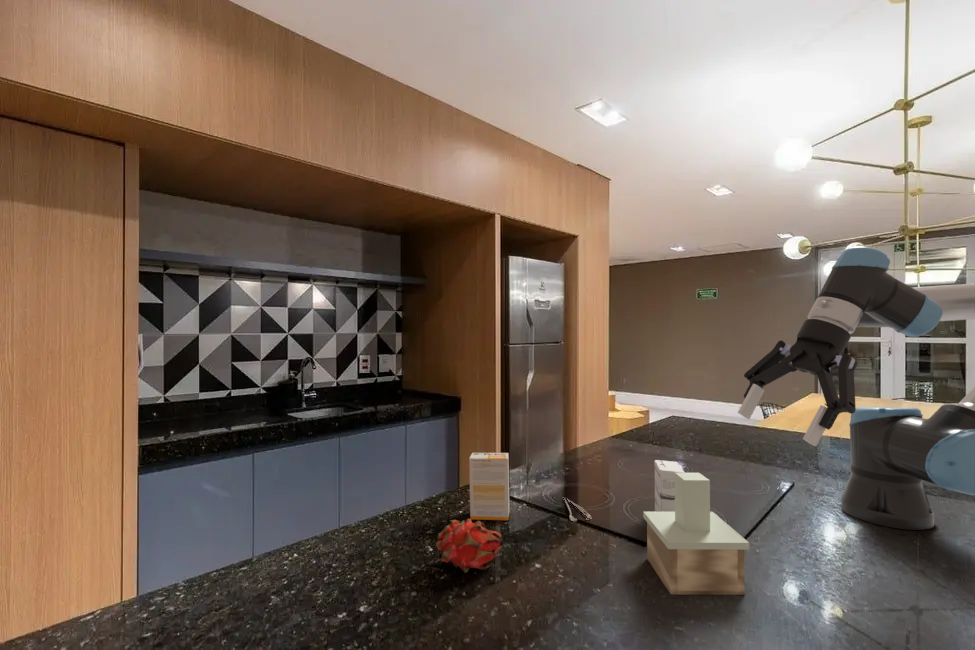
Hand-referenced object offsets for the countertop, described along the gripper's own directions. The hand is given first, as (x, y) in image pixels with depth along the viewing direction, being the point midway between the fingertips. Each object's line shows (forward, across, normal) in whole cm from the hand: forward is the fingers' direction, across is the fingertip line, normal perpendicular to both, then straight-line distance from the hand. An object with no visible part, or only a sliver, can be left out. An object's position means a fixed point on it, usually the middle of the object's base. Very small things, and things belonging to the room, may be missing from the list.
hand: (773, 428), depth 87 cm
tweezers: (+36, -26, -10) cm, 45 cm away
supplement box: (+44, -27, -27) cm, 58 cm away
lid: (+23, +6, -12) cm, 27 cm away
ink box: (+26, -12, +2) cm, 29 cm away
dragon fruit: (+46, -8, -37) cm, 60 cm away
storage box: (+28, +7, -9) cm, 31 cm away
